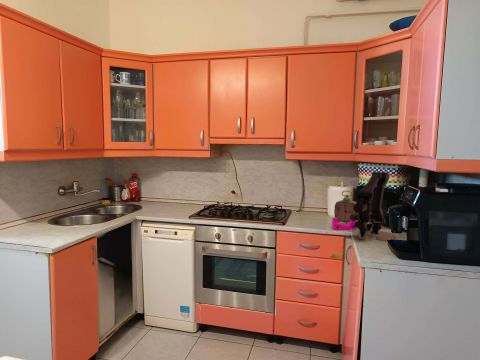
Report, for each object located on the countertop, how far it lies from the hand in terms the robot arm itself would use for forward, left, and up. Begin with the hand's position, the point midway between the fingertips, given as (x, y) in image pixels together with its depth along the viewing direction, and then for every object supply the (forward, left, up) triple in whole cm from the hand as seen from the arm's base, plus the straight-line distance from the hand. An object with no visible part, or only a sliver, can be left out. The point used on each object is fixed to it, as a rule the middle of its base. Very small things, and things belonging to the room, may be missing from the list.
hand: (364, 236), depth 190 cm
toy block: (-12, -18, -1) cm, 22 cm away
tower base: (-5, +11, -2) cm, 12 cm away
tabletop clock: (-22, -21, -1) cm, 31 cm away
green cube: (0, 0, -1) cm, 1 cm away
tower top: (-5, +11, +1) cm, 12 cm away
